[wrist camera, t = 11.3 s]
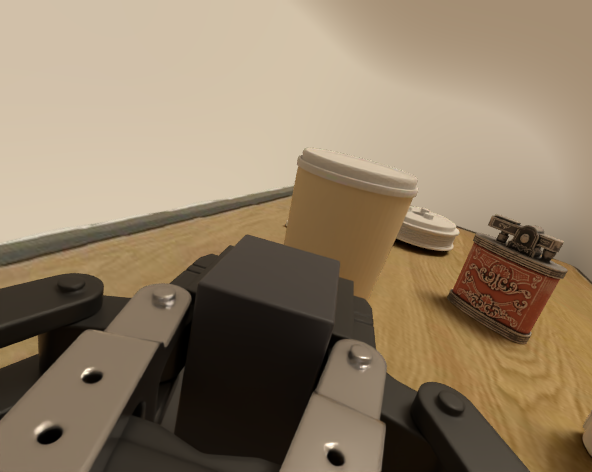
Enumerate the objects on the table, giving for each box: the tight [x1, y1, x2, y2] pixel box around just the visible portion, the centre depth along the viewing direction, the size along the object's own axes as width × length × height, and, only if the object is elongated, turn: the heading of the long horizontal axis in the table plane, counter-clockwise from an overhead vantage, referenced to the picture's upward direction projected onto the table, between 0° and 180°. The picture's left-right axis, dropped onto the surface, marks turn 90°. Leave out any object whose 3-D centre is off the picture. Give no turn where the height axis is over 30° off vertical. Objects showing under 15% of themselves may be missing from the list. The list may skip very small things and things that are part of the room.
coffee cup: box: [284, 148, 418, 301], centre depth 28 cm, size 9×9×12 cm
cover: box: [161, 235, 340, 465], centre depth 10 cm, size 16×11×11 cm
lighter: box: [447, 214, 568, 344], centre depth 32 cm, size 8×3×10 cm, turn 33°
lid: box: [396, 205, 459, 251], centre depth 54 cm, size 13×13×5 cm
